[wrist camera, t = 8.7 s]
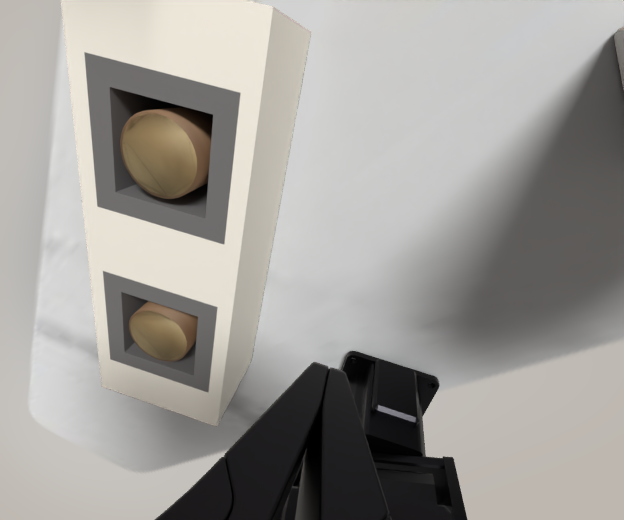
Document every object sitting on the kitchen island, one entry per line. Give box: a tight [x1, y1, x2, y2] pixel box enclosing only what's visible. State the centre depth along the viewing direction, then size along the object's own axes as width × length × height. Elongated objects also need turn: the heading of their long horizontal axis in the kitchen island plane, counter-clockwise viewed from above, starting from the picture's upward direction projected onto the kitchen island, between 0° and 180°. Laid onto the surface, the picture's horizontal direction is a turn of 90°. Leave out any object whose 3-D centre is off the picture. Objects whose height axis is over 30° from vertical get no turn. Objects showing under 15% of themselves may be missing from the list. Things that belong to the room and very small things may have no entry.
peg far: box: [129, 301, 198, 362], centre depth 22 cm, size 4×4×6 cm
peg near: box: [120, 107, 213, 199], centre depth 17 cm, size 4×4×6 cm
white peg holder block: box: [61, 0, 311, 427], centre depth 20 cm, size 22×8×6 cm, turn 167°
